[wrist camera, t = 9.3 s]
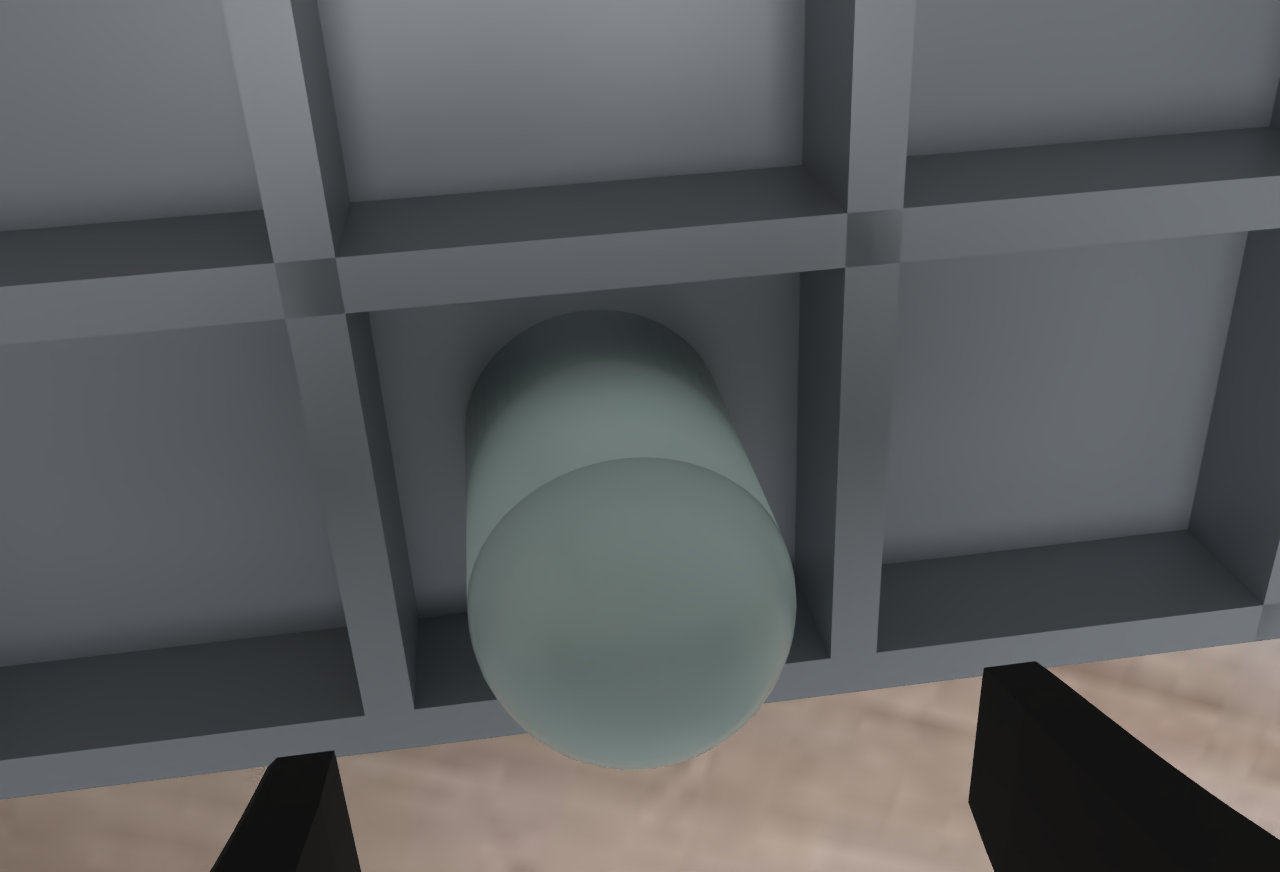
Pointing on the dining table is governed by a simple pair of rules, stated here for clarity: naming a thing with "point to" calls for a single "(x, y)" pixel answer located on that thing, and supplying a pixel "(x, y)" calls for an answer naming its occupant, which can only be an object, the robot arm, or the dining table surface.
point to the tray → (621, 281)
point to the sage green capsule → (619, 545)
